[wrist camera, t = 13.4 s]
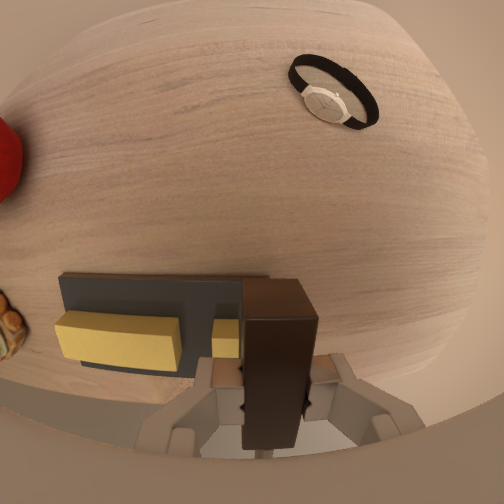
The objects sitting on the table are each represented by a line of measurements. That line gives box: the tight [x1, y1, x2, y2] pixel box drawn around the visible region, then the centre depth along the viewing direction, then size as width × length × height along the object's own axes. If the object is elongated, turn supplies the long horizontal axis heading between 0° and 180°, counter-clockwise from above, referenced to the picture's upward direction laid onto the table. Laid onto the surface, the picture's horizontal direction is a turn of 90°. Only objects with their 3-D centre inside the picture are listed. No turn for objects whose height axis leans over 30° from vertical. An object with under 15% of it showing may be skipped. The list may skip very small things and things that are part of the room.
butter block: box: [54, 310, 182, 371], centre depth 21 cm, size 11×4×3 cm, turn 89°
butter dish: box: [58, 273, 270, 378], centre depth 24 cm, size 19×10×1 cm, turn 89°
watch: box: [288, 54, 379, 130], centre depth 18 cm, size 8×5×4 cm, turn 57°
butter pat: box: [212, 319, 239, 358], centre depth 22 cm, size 2×4×3 cm, turn 178°
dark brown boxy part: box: [241, 278, 319, 459], centre depth 10 cm, size 2×12×3 cm, turn 178°
